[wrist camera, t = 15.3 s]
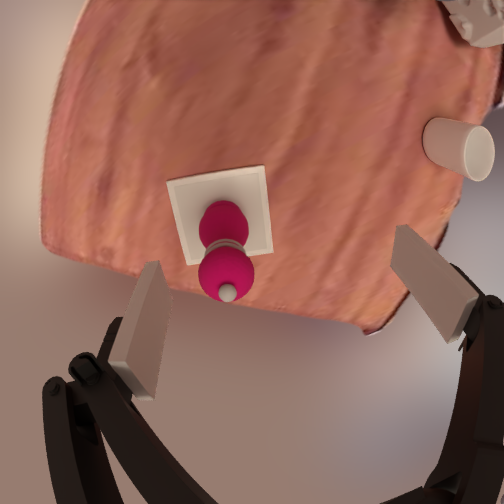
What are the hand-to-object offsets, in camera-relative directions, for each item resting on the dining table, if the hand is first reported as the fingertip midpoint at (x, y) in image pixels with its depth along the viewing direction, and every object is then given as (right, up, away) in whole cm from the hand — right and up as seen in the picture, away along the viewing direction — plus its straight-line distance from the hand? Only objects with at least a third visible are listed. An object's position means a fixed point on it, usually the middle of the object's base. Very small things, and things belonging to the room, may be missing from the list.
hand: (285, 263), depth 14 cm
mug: (+35, +22, +26) cm, 48 cm away
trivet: (-7, +6, +30) cm, 31 cm away
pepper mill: (-6, +6, +29) cm, 30 cm away
